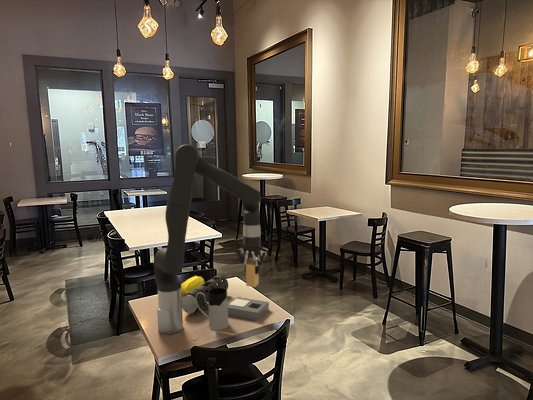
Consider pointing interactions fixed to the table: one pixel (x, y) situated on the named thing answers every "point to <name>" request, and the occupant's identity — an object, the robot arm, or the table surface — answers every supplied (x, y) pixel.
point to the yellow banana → (191, 284)
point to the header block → (247, 308)
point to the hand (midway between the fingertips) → (252, 273)
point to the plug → (251, 274)
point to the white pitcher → (217, 308)
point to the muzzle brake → (189, 298)
